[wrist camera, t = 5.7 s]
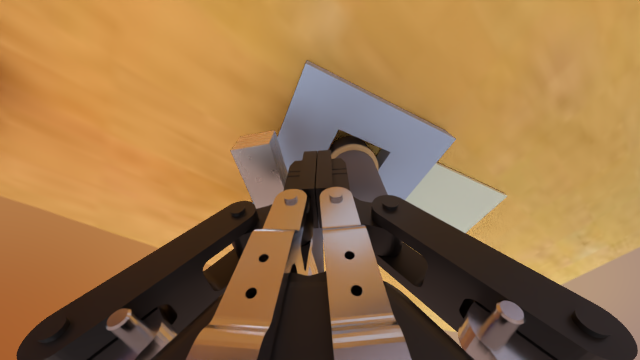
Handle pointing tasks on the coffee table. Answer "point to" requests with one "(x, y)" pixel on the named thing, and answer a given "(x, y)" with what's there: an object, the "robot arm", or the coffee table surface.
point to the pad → (454, 197)
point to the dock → (359, 133)
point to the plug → (359, 168)
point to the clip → (263, 170)
